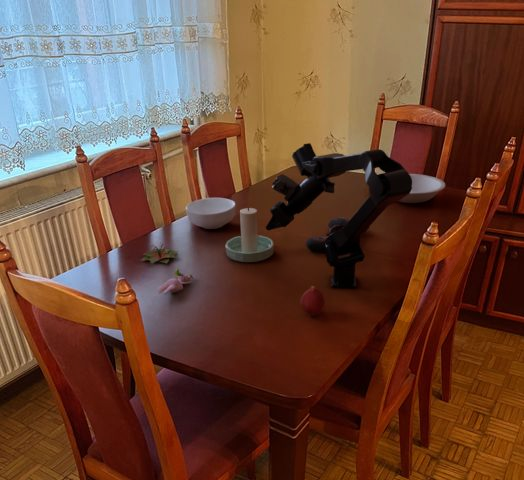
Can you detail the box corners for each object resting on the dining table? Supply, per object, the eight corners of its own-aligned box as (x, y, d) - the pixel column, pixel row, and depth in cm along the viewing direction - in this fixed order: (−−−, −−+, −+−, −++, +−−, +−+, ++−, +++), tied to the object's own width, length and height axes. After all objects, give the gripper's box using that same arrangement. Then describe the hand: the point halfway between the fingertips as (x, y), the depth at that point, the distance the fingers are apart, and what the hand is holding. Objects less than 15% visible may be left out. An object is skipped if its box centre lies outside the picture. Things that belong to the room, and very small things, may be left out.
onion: (309, 306, 137) (310, 278, 133) (328, 313, 134) (330, 284, 130) (296, 316, 133) (296, 287, 129) (315, 323, 130) (316, 293, 126)
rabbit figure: (178, 282, 154) (151, 298, 141) (177, 261, 151) (149, 276, 138) (198, 285, 152) (172, 301, 139) (198, 264, 149) (171, 279, 136)
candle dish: (271, 263, 159) (271, 253, 157) (223, 263, 161) (222, 252, 159) (275, 244, 171) (275, 235, 169) (230, 244, 173) (229, 234, 171)
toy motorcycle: (302, 255, 167) (351, 257, 159) (300, 239, 164) (350, 239, 156) (334, 230, 185) (379, 230, 177) (333, 215, 183) (378, 215, 175)
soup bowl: (386, 187, 217) (388, 171, 213) (447, 194, 208) (450, 177, 204) (368, 206, 199) (370, 188, 195) (435, 214, 190) (438, 196, 186)
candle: (257, 255, 163) (255, 210, 155) (240, 255, 164) (238, 210, 156) (259, 249, 167) (257, 204, 160) (243, 248, 168) (240, 204, 160)
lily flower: (186, 252, 168) (184, 238, 165) (169, 268, 158) (167, 253, 156) (151, 248, 171) (149, 234, 169) (133, 263, 162) (130, 249, 159)
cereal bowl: (207, 213, 197) (205, 194, 193) (245, 221, 189) (244, 201, 185) (177, 229, 185) (175, 208, 181) (217, 237, 177) (216, 216, 173)
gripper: (302, 157, 153) (268, 192, 163) (276, 175, 139) (240, 212, 149) (328, 188, 154) (292, 221, 165) (304, 209, 140) (267, 243, 151)
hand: (273, 223), depth 157 cm, fingers open, 9 cm apart
